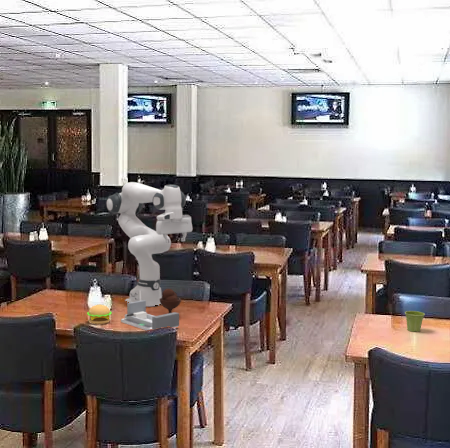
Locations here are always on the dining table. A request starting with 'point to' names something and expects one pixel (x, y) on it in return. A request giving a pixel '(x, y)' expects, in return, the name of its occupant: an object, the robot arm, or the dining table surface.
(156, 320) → the grey mounting bracket
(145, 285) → the robot arm
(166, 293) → the ice cream bowl
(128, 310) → the gauge carriage
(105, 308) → the hamburger
